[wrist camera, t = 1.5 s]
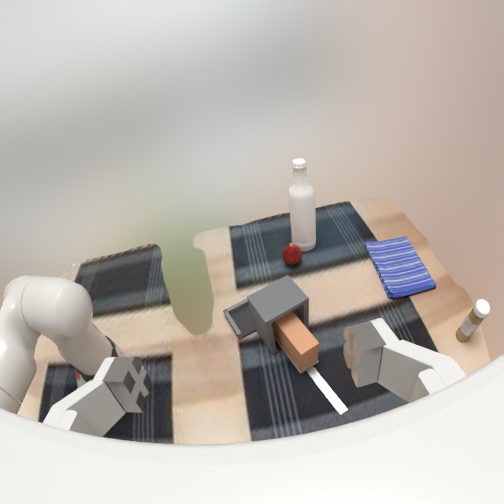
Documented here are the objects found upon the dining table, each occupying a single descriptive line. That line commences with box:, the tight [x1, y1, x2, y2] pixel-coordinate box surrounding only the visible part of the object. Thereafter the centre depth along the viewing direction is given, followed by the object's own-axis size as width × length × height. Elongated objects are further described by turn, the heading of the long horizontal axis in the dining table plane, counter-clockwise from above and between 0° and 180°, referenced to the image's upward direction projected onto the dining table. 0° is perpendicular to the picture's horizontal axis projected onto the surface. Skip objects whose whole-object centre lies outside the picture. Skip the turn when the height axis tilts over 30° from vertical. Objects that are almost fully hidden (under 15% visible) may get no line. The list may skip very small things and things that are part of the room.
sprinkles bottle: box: [456, 299, 490, 342], centre depth 50 cm, size 5×5×14 cm
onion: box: [283, 243, 302, 265], centre depth 82 cm, size 6×6×8 cm
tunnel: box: [247, 275, 309, 355], centre depth 63 cm, size 10×8×15 cm
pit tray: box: [223, 299, 257, 339], centre depth 73 cm, size 20×9×2 cm, turn 118°
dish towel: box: [365, 236, 436, 299], centre depth 76 cm, size 17×24×3 cm
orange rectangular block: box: [272, 311, 319, 374], centre depth 61 cm, size 5×14×10 cm, turn 28°
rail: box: [306, 367, 348, 415], centre depth 60 cm, size 2×30×1 cm, turn 28°
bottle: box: [288, 159, 316, 252], centre depth 81 cm, size 8×8×30 cm
